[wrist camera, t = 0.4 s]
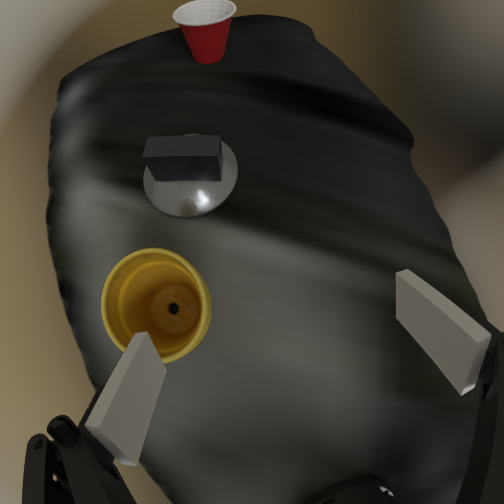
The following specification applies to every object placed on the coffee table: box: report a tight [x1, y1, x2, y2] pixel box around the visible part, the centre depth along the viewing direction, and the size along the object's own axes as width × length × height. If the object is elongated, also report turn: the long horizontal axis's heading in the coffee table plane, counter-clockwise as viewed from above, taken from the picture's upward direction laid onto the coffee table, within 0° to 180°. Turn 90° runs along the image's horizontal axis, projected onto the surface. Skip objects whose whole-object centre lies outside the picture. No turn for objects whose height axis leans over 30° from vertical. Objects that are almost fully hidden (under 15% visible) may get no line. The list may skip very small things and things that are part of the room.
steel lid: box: [142, 134, 238, 219], centre depth 33 cm, size 13×13×7 cm
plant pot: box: [101, 248, 212, 364], centre depth 27 cm, size 10×10×10 cm
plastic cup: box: [173, 0, 236, 64], centre depth 37 cm, size 11×11×12 cm
